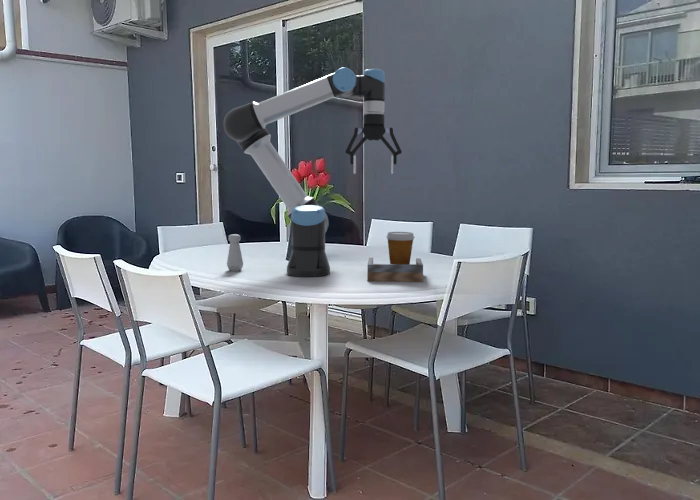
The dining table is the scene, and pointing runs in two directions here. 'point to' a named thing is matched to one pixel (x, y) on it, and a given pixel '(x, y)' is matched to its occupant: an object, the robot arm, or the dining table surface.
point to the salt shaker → (234, 253)
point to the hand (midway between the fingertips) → (373, 173)
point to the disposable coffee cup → (400, 247)
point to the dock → (395, 272)
